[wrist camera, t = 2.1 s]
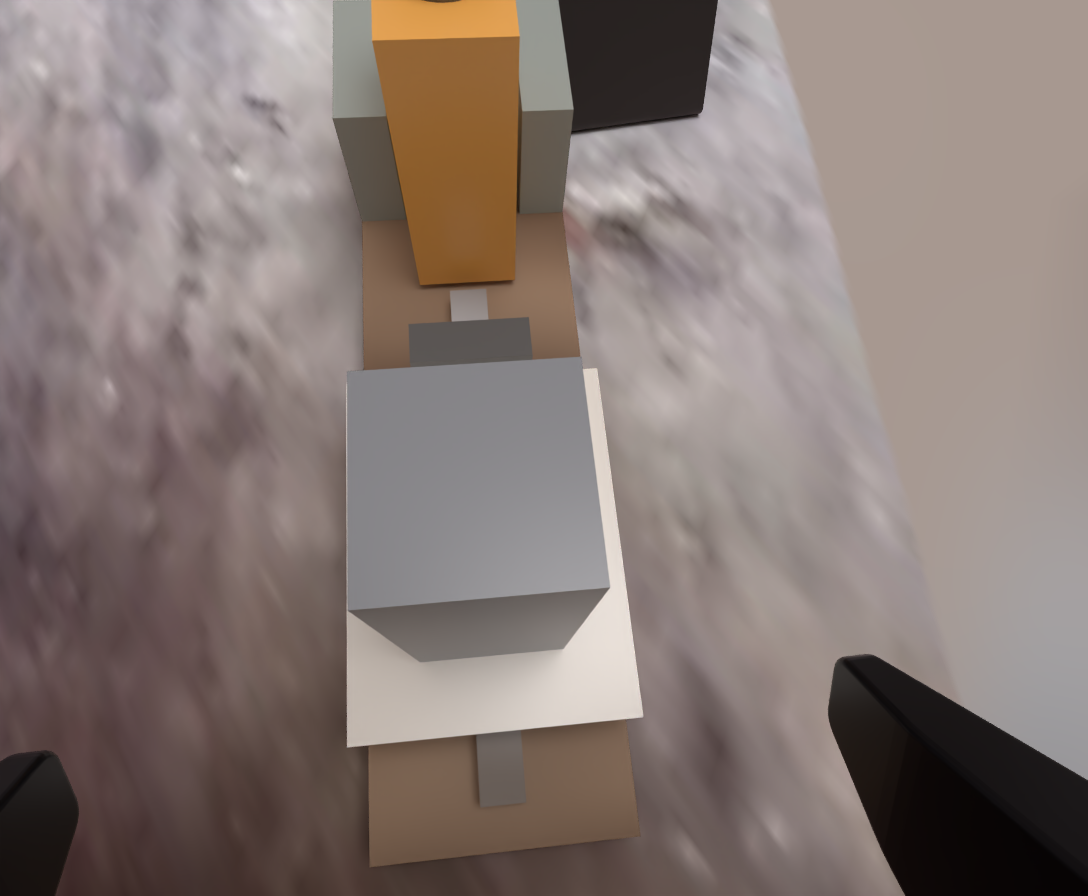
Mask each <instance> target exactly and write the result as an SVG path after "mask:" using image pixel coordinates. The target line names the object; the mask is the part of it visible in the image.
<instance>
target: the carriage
mask: <svg viewBox="0 0 1088 896" xmlns="http://www.w3.org/2000/svg"><path fill="white" fill-rule="evenodd" d="M408 326H409V354H410V365H411V367H409V368H394V369H378V370H362V371H347V384H346V486H347V747H356V746H366V745H376V744H386V743H395V742H405V741H415V740H425V739H435V738H444V737H454V736H464V735H474V734H484V733H493V732H503V731H513V730H523V729H533V728H542V727H552V726H562V725H572V724H582V723H591V722H601V721H611V720H621V719H631V718H641V717H643V711H642V703H641V696H640V688H639V680H638V673H637V665H636V658H635V650H634V643H633V635H632V628H631V620H630V613H629V605H628V598H627V590H626V583H625V575H624V568H623V560H622V553H621V545H620V538H619V530H618V523H617V515H616V508H615V500H614V493H613V485H612V478H611V470H610V462H609V455H608V447H607V440H606V432H605V425H604V417H603V410H602V402H601V395H600V387H599V380H598V372H597V368H593V369H583V366H582V358H581V357H568V358H553V359H537V360H532V357H533V354H532V344H531V334H530V324H529V317H521V318H504V319H487V320H470V321H453V322H435V323H418V324H408Z"/></svg>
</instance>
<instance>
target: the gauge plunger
mask: <svg viewBox="0 0 1088 896" xmlns="http://www.w3.org/2000/svg"><path fill="white" fill-rule="evenodd" d="M371 14H372V43H373V48H374V53H375V58H376V63H377V68H378V74H379V79H380V84H381V89H382V94H383V99H384V104H385V109H386V114H387V119H388V124H389V130H390V135H391V140H392V145H393V150H394V155H395V160H396V165H397V170H398V175H399V180H400V186H401V191H402V196H403V201H404V206H405V211H406V216H407V221H408V226H409V231H410V236H411V242H412V247H413V252H414V257H415V262H416V267H417V272H418V277H419V282H420V285H429V284H447V283H466V282H484V281H502V280H515V252H516V201H517V150H518V99H519V47H520V34H519V25H518V17H517V8H516V0H371Z"/></svg>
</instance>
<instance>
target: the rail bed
mask: <svg viewBox="0 0 1088 896" xmlns="http://www.w3.org/2000/svg"><path fill="white" fill-rule="evenodd" d="M362 249H363V336H364V370H378V369H394V368H409V367H411V365H410V354H409V326H408V324H418V323H435V322H453V321H470V320H487V319H504V318H521V317H529V324H530V334H531V344H532V354H533V357H532V360H537V359H553V358H568V357H580V349H579V341H578V333H577V325H576V317H575V309H574V301H573V293H572V285H571V277H570V269H569V261H568V253H567V245H566V237H565V229H564V221H563V213H562V212H553V213H532V214H520V212H519V202H518V192H517V201H516V252H515V280H502V281H484V282H466V283H447V284H429V285H420V282H419V277H418V272H417V267H416V262H415V257H414V252H413V247H412V242H411V236H410V231H409V226H408V221H407V216H406V219H405V220H384V221H363V222H362ZM368 770H369V857H370V867H376V866H385V865H394V864H403V863H411V862H420V861H429V860H437V859H446V858H455V857H464V856H472V855H481V854H490V853H499V852H507V851H516V850H525V849H533V848H542V847H551V846H560V845H568V844H577V843H586V842H594V841H603V840H612V839H621V838H629V837H638V836H640V828H639V820H638V812H637V804H636V796H635V788H634V780H633V772H632V764H631V756H630V748H629V740H628V732H627V724H626V719H621V720H611V721H601V722H591V723H582V724H572V725H562V726H552V727H542V728H533V729H523V730H513V731H503V732H493V733H484V734H474V735H464V736H454V737H444V738H435V739H425V740H415V741H405V742H395V743H386V744H376V745H368Z"/></svg>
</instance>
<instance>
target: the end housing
mask: <svg viewBox="0 0 1088 896" xmlns="http://www.w3.org/2000/svg"><path fill="white" fill-rule="evenodd" d="M516 8H517V17H518V25H519V34H520V47H519V99H518V150H517V192H518V202H519V212H520V214H532V213H553V212H562V211H563V202H564V193H565V183H566V174H567V165H568V156H569V147H570V138H571V129H572V120H573V110H574V109H573V101H572V94H571V87H570V80H569V73H568V66H567V59H566V51H565V44H564V37H563V30H562V23H561V16H560V8H559V1H558V0H516ZM333 122H334V125H335V129H336V132H337V135H338V139H339V142H340V146H341V149H342V153H343V156H344V160H345V163H346V167H347V170H348V174H349V177H350V181H351V184H352V188H353V191H354V195H355V198H356V202H357V205H358V209H359V212H360V216H361V219H362V222H363V221H384V220H405V219H406V211H405V206H404V201H403V196H402V191H401V186H400V180H399V175H398V170H397V165H396V160H395V155H394V150H393V145H392V140H391V135H390V130H389V124H388V119H387V114H386V109H385V104H384V99H383V94H382V89H381V84H380V79H379V74H378V68H377V63H376V58H375V53H374V48H373V43H372V14H371V0H341V1H333Z"/></svg>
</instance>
